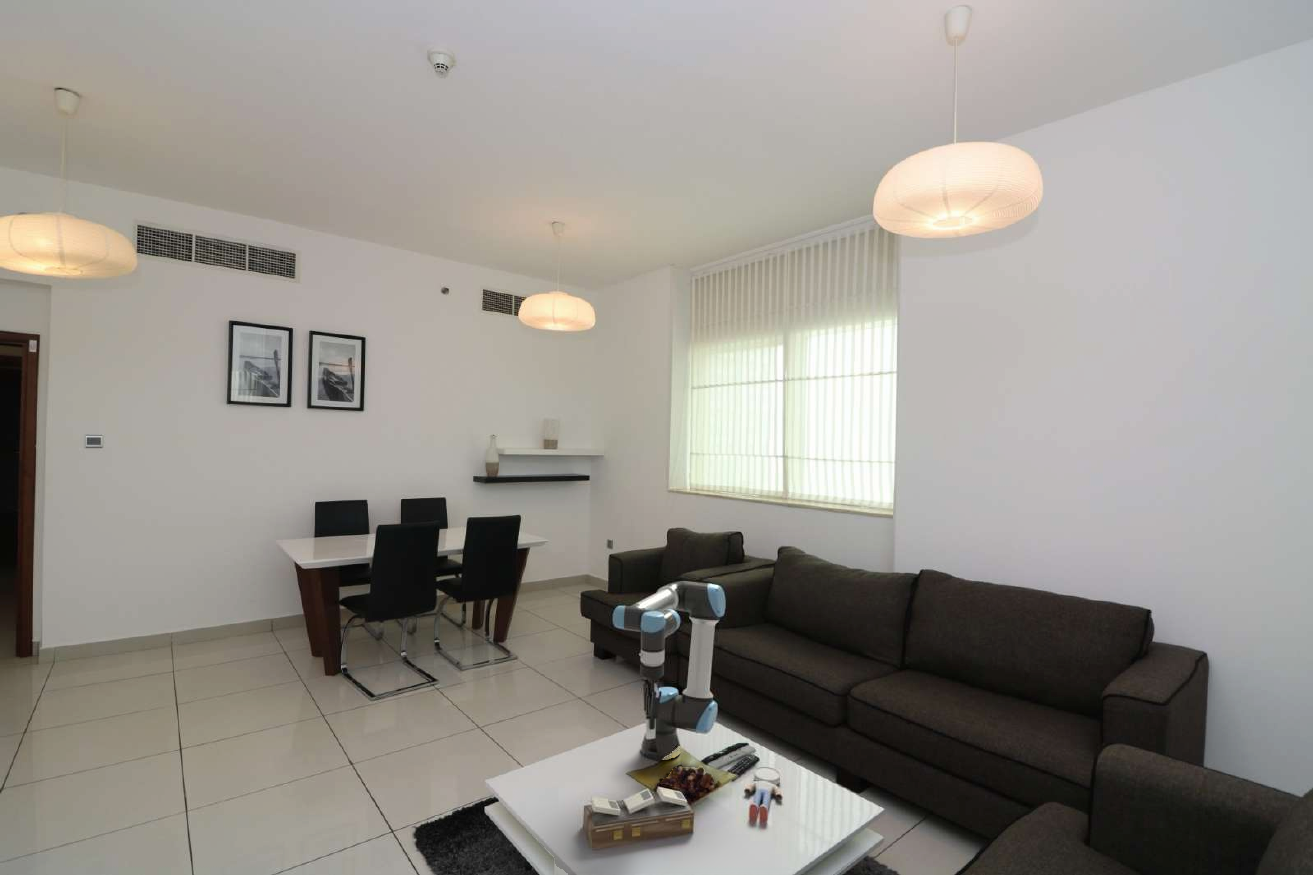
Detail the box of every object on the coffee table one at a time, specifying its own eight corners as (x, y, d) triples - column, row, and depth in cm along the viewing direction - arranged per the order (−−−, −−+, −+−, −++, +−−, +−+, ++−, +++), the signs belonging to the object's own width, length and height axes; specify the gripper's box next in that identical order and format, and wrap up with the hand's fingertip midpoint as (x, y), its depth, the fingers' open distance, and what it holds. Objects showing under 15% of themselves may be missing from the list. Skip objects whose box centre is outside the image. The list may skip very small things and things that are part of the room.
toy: (779, 808, 191) (786, 762, 220) (738, 801, 195) (750, 756, 223) (778, 827, 191) (786, 778, 220) (737, 819, 194) (750, 772, 223)
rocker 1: (589, 801, 184) (591, 796, 184) (614, 805, 187) (615, 800, 187) (593, 811, 179) (595, 806, 179) (619, 815, 181) (620, 810, 181)
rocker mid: (624, 804, 188) (623, 799, 188) (649, 792, 190) (647, 788, 190) (629, 814, 182) (628, 809, 182) (654, 802, 185) (653, 797, 185)
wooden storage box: (583, 826, 187) (584, 801, 187) (679, 811, 196) (680, 788, 197) (592, 850, 175) (593, 824, 175) (693, 833, 185) (694, 809, 185)
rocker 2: (656, 791, 191) (658, 786, 191) (679, 796, 193) (680, 791, 193) (662, 800, 186) (664, 796, 186) (685, 806, 188) (687, 801, 188)
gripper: (635, 656, 200) (633, 730, 200) (646, 670, 188) (644, 749, 187) (657, 654, 202) (655, 727, 202) (670, 668, 190) (668, 746, 190)
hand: (650, 737), depth 195 cm, fingers closed
